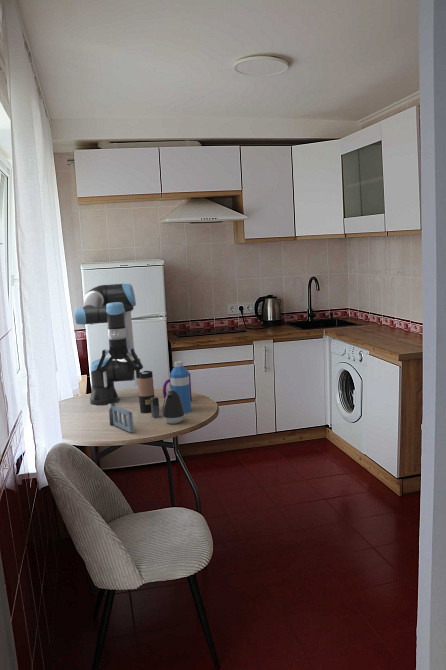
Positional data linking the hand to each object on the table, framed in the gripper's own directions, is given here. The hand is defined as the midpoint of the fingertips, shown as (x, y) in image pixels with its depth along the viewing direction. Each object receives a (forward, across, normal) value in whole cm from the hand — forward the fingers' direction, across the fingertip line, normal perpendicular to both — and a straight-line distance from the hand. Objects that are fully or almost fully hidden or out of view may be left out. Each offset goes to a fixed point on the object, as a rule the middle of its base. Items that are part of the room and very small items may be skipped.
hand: (121, 386), depth 249 cm
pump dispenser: (+21, +21, +11) cm, 32 cm away
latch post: (+21, +10, +21) cm, 31 cm away
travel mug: (+21, +5, +32) cm, 39 cm away
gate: (+20, -1, +3) cm, 20 cm away
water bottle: (+21, +23, +29) cm, 42 cm away
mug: (+21, +19, +47) cm, 55 cm away
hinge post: (+21, -8, +12) cm, 25 cm away
